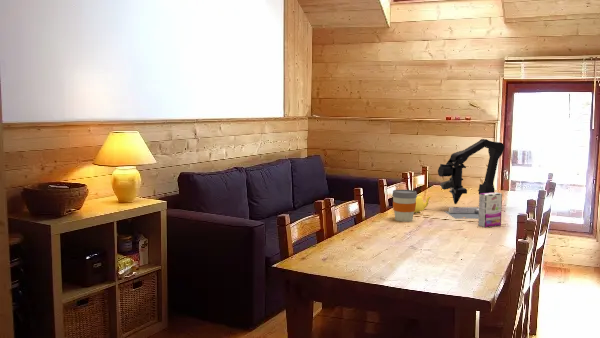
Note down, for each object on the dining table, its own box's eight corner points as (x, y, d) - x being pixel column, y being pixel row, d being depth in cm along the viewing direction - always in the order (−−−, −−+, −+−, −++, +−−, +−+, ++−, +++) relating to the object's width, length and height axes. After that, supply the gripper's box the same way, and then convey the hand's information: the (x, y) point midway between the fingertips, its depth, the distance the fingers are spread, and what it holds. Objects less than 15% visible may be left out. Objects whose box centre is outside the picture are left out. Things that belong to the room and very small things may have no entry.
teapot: (431, 212, 321) (432, 195, 320) (413, 214, 314) (414, 196, 313) (414, 208, 333) (415, 191, 332) (396, 210, 326) (397, 193, 325)
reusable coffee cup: (400, 216, 309) (401, 188, 308) (420, 220, 300) (421, 191, 299) (386, 219, 301) (387, 191, 299) (406, 223, 292) (407, 194, 290)
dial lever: (480, 211, 315) (481, 206, 315) (484, 213, 310) (484, 208, 310) (447, 211, 314) (448, 206, 314) (450, 213, 309) (450, 208, 309)
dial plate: (479, 213, 319) (479, 211, 319) (493, 221, 299) (493, 218, 299) (443, 213, 318) (443, 211, 318) (455, 221, 298) (455, 218, 298)
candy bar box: (493, 223, 294) (495, 191, 292) (501, 225, 289) (503, 193, 287) (477, 225, 289) (478, 193, 287) (484, 227, 284) (486, 194, 282)
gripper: (437, 173, 327) (436, 201, 329) (447, 178, 308) (446, 207, 310) (456, 173, 327) (455, 201, 329) (468, 178, 309) (466, 207, 311)
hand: (455, 204), depth 320 cm, fingers closed
